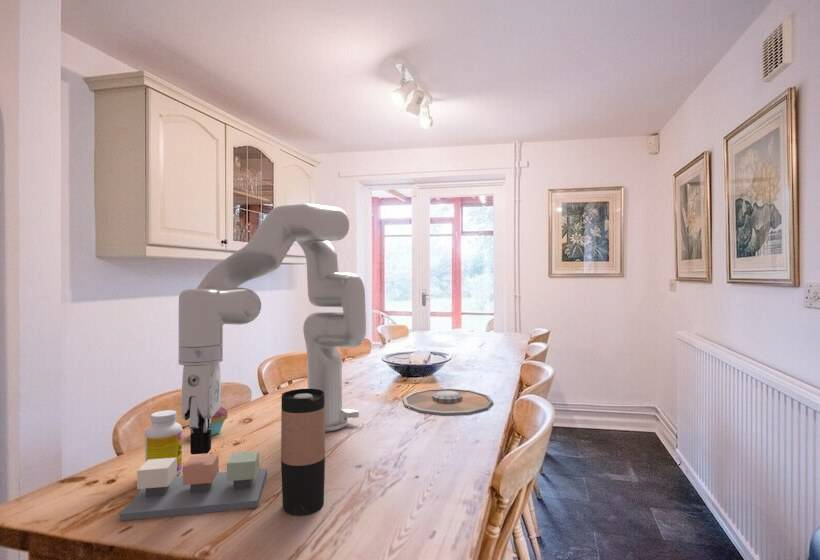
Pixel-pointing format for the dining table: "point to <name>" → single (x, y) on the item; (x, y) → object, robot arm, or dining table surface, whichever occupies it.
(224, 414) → the cupcake
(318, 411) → the travel mug
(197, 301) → the robot arm
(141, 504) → the board
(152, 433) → the supplement bottle
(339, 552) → the dining table surface
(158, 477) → the button cream
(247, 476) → the button sage
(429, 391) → the shield
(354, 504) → the dining table surface
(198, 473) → the button terracotta
